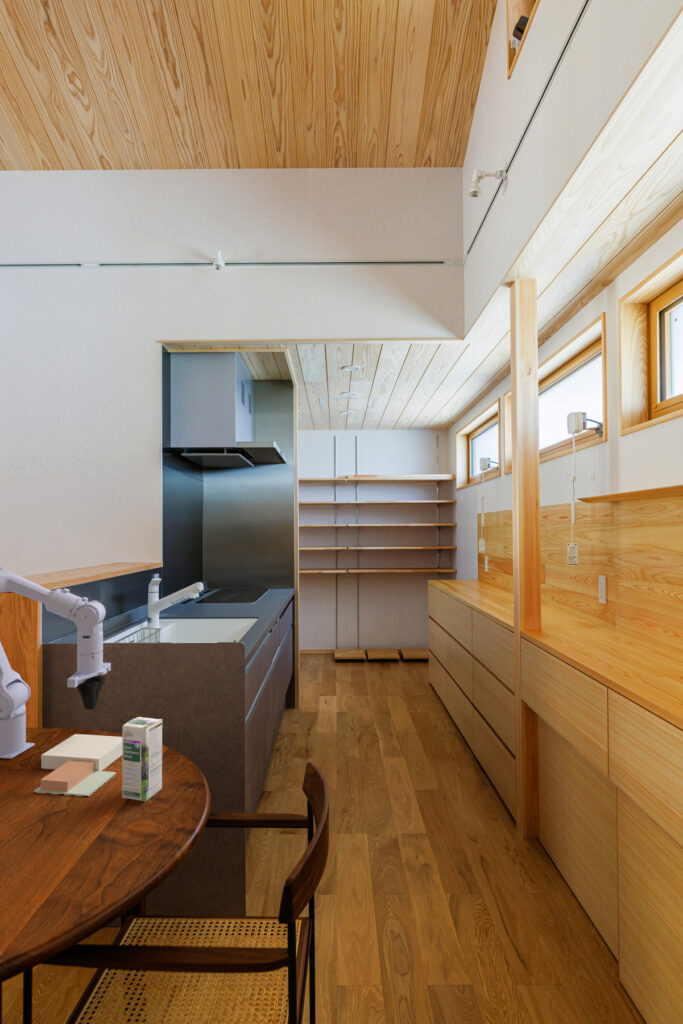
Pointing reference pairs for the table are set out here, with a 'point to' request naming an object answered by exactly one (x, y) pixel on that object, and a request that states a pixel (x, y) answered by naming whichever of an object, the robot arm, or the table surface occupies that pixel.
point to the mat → (84, 784)
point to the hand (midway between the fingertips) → (90, 708)
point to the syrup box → (141, 758)
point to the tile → (67, 776)
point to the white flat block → (84, 751)
